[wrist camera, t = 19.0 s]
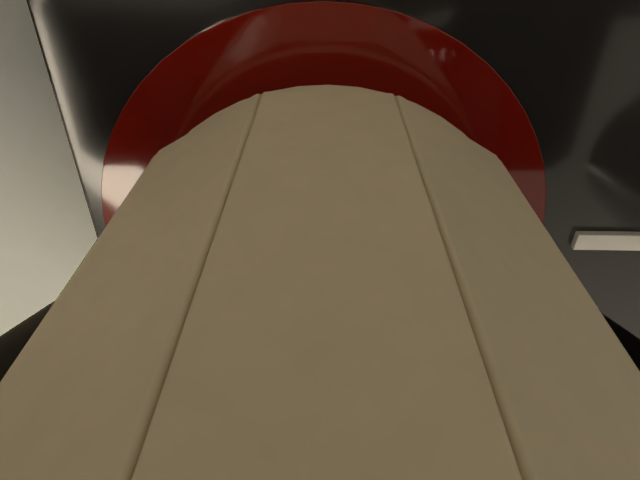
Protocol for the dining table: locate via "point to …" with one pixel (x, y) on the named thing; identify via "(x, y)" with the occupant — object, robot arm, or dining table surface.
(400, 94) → the burner
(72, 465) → the pot
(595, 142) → the hob
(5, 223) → the dining table surface
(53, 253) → the dining table surface
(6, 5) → the dining table surface
